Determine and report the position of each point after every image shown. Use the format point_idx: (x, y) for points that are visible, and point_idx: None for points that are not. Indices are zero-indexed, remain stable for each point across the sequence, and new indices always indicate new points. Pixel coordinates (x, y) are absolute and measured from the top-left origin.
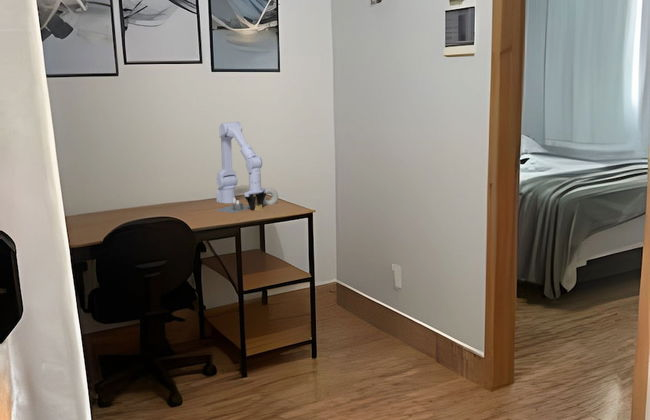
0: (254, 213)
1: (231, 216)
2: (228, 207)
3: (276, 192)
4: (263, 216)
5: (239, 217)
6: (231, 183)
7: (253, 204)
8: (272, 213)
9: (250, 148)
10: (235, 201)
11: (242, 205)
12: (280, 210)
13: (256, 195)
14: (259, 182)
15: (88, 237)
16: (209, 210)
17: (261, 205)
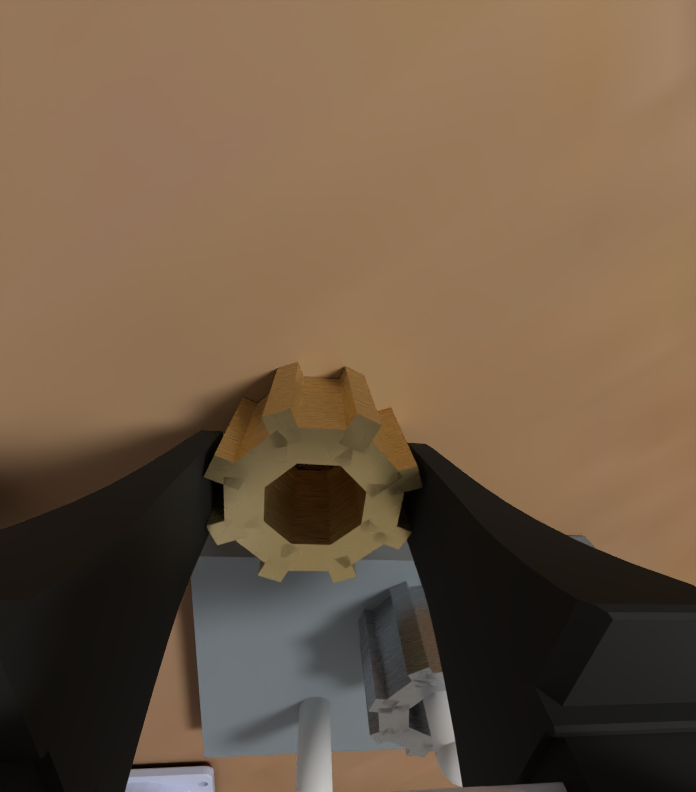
0: (413, 411)
1: (608, 547)
2: (359, 730)
3: None
4: (592, 148)
5: (659, 452)
6: None
7: (491, 492)
8: (326, 107)
9: None
10: (316, 787)
11: (425, 640)
12: (7, 82)
13: (125, 755)
14: None
15: None
16: (403, 777)
17: (292, 407)
